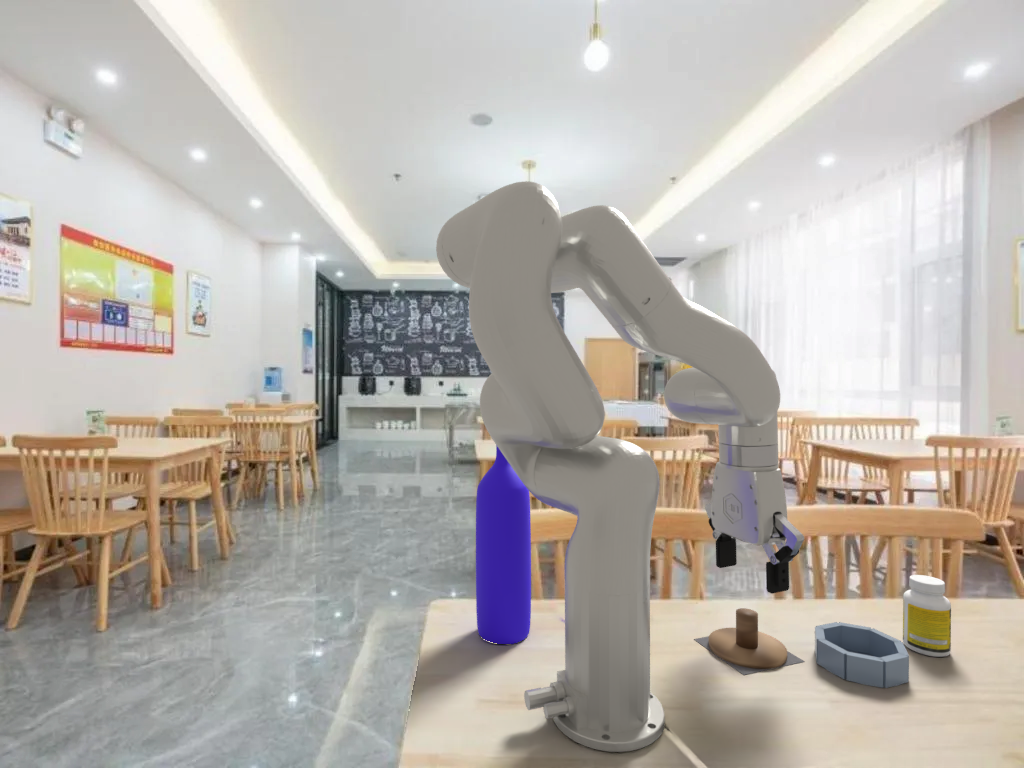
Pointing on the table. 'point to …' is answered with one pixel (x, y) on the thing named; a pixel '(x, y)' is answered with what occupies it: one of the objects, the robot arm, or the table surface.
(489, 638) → the bottle
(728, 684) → the table surface
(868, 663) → the bowl
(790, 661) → the mat
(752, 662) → the lid
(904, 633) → the supplement bottle
